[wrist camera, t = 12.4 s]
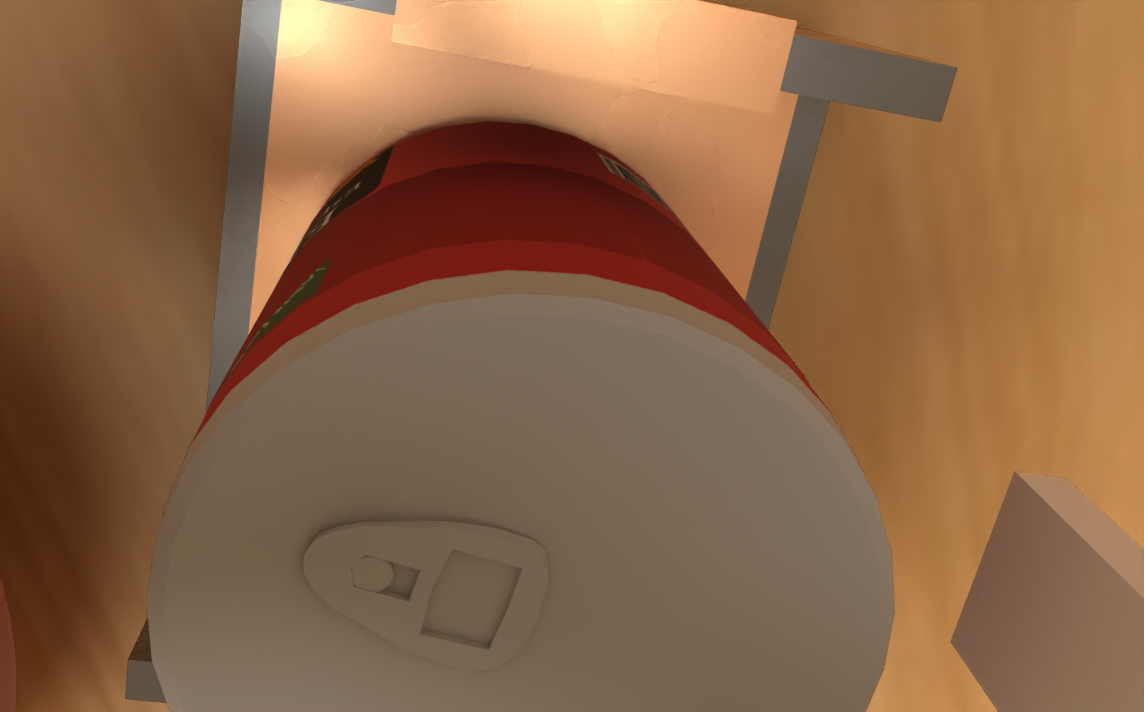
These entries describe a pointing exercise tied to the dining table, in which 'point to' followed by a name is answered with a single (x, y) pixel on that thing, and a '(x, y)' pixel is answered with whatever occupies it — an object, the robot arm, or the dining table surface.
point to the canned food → (515, 466)
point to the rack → (537, 122)
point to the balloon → (6, 657)
